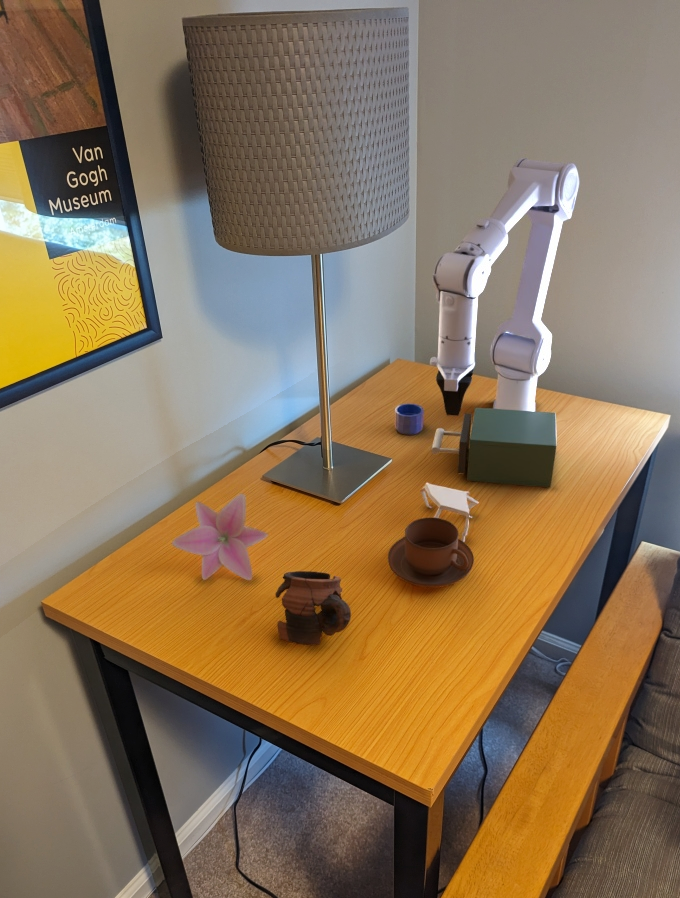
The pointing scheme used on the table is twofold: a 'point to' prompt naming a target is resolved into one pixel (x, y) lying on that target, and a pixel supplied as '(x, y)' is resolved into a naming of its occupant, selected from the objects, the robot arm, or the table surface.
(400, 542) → the cup and saucer
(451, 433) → the drawer
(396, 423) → the blue cup
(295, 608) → the pottery mug
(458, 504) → the origami figure
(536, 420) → the sage green box
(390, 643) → the table surface
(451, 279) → the robot arm
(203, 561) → the lily
